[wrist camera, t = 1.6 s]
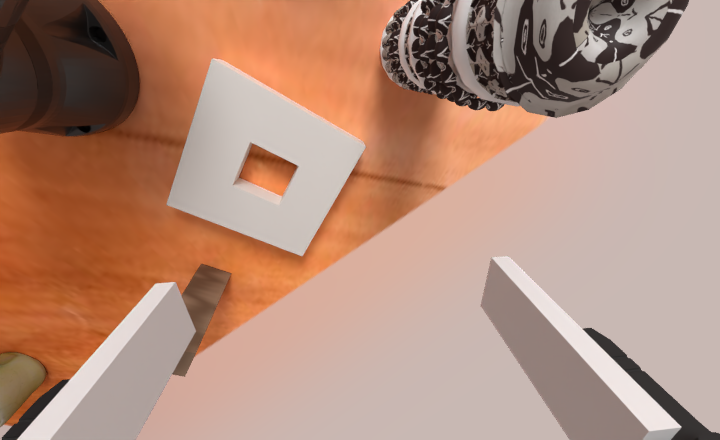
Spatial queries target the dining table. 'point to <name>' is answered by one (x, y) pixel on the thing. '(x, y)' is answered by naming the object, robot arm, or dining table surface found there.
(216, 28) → the dining table surface
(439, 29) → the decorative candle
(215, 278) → the square peg
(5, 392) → the mug
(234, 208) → the socket plate
